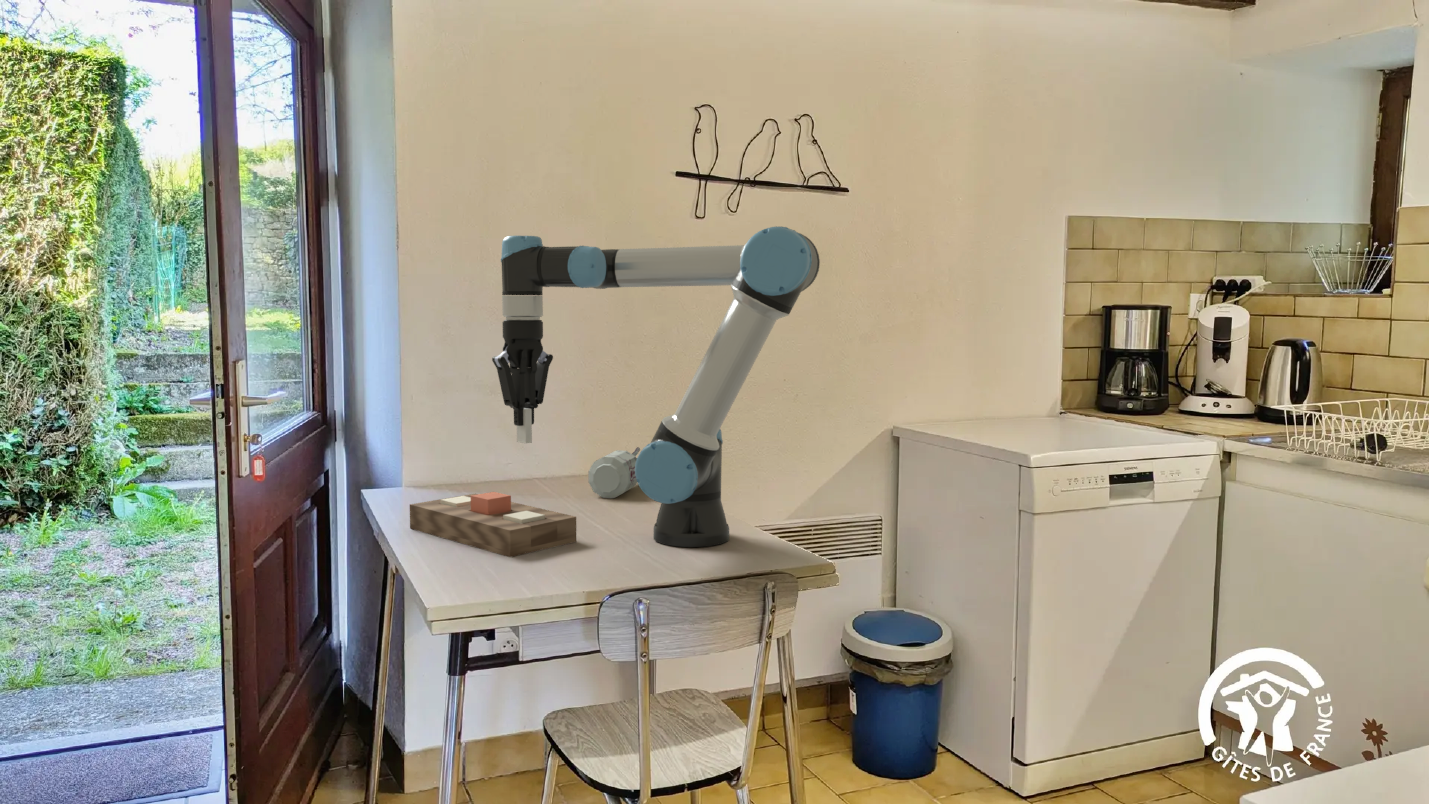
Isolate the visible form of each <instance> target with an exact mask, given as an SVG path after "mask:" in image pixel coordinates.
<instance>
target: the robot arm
mask: <svg viewBox="0 0 1429 804" xmlns="http://www.w3.org/2000/svg"><path fill="white" fill-rule="evenodd" d="M500 263H501V282H502V283H501V286H502V287H501V288H502V290H501V291H502V292H501V293H502V296H501V298H502V299H501V301H502V303H501V304H502V305H501V306H502V310H501V311H502V317H504V318H505V319H503V321H502V338H503V340H504V345H503V347H502V352H500V354H498V355H497V356H496V355H495V356H493V357H492V358H491V361H492V363H493V365H494V366H495V368H496V372H497V376H498V380H499V384H500V385H499V386H500V389H501V394H502V398H503V403H504V405H505V406H507V407H510V408H511V409H513V425H514V426H516V443H522V444H530V443H531V444H532V442H533V429H532V428H533V427H532V425H534V423H535V409H538V408H539V405H542V404H543V402H544V397H545V391H546V385H547V379H548V374H549V368H550V366H551V364H552V361H553V359H554V356H553V354H551V353H550V354H548V353H547V352H546V351H544V346H543V344H542V339H543V338H544V322H543V321H542V320H541V318H542V317H543V316H544V307H543V305H544V301H543V298H544V296H543V289H544V288H580V289H584V288H585V289H589V288H592V289H597V290H601V289H612V288H613V289H617V288H618V289H619V288H653V287H654V288H657V287H658V288H659V287H661V288H662V287H665V288H666V287H707V286H709V287H710V286H711V287H713V286H717V287H718V286H720V287H721V286H730V289H731V291H732V295H733V299H732V301H731V303H730V305H729V307H728V309H727V310H726V313H725V314H724V316H723V318H722V320H721V322H720V324H719V327H718V328H717V330H716V332H715V335H714V336H713V338H712V340H711V342H710V344H709V345H708V348H707V349H706V351H705V354H704V355H703V358H702V360H701V362H700V364H699V366H698V368H697V370H696V371H695V373H694V375H693V377H692V379H691V381H690V383H689V386H687V388H686V391H685V393H684V395H683V397H682V399H681V401H680V403H679V405H678V407H677V408H676V410H675V412H674V414H670V415H668V416H665V417H663V418H662V419H661V421H660V424H659V426H658V427H657V430H655V431H656V432H655V433H654V435H653V437H652V439H651V441H650V443H648V444H646V446H644V447H643V448H642V449H641V450H640V451H639V453H638V454H637V455H638V456H636V458H637V460H636V463H635V476H636V479H637V485H638V486H639V487H638V488H640V490H641V491H642V492H643V493H644V494H645V496H647V497H648V498H649V499H651V500H653V501H655V502H657V503H660V507H659V510H658V513H657V517H656V522H655V523H654V525H653V540H654V541H655V542H657V543H659V544H663V545H666V546H672V547H683V548H701V547H703V548H704V547H713V546H718V545H721V544H725V543H727V542H728V541H730V527H729V524H728V522H727V519H726V514H725V510H724V506H723V504H722V464H723V463H722V457H723V456H722V454H723V453H722V451H723V450H722V449H723V447H722V446H723V444H724V443H723V442H724V440H723V438H722V434H723V433H722V430H721V427H722V425H723V423H724V421H725V419H726V417H727V416H728V414H729V412H730V410H731V408H732V406H733V404H734V402H735V400H737V399H736V398H737V396H738V395H739V393H740V391H741V389H742V387H743V385H744V383H745V381H746V379H747V377H748V376H749V373H750V372H751V370H752V368H753V366H754V364H755V362H756V360H757V358H758V357H759V354H760V353H761V351H762V348H764V346H765V343H766V341H767V339H768V337H769V335H770V334H771V331H772V329H773V328H774V326H775V324H776V322H777V321H778V320H780V319H782V318H786V317H788V316H790V313H791V311H792V310H793V308H794V306H795V304H796V303H797V301H798V299H799V297H800V295H801V292H803V291H805V290H806V289H808V288H809V287H810V286H811V285H812V284H814V282H815V280H816V278H817V277H818V274H819V271H820V266H821V265H820V264H821V259H820V254H819V252H818V249H817V247H816V245H815V244H814V243H813V241H812V240H811V239H810V238H808V236H806V235H804V234H802V233H800V232H797V231H796V230H795V229H791V228H788V227H787V226H776V225H775V226H770V227H767V228H764V229H761V230H759V231H757V232H756V233H754V234H753V235H752V236H751V237H750V238H749V239H748V240H747V242H746V243H744V244H740V245H738V244H737V245H736V244H735V245H712V246H711V245H709V246H682V247H681V246H680V247H679V246H678V247H675V246H674V247H673V246H672V247H646V248H645V247H644V248H643V247H642V248H619V249H618V248H617V249H612V248H610V249H609V248H608V249H601V248H600V247H597V246H588V245H579V246H575V245H574V246H573V245H572V246H545V245H543V240H542V238H541V237H540V236H535V235H507V236H505V237H504V238H503V239H502V242H501V258H500ZM543 287H544V288H543Z"/></svg>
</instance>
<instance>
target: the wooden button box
mask: <svg viewBox="0 0 1429 804" xmlns="http://www.w3.org/2000/svg"><path fill="white" fill-rule="evenodd" d="M478 494H479V493H469V494H464V495H462V496H466V497H470V498H471V496H472V495H478ZM460 496H461V495H458V496H456V497H460ZM454 497H455V496H452V497H451V496H450V498H454ZM448 498H449V497H446V498H444V499H448ZM442 499H443V498H440V499H433V500H427V501H422V502H416V503H412V504H409V529H410V530H415V531H418V532H421V533H425V534H428V535H431V536H435V537H439V538H443V539H445V540H448V541H453V542H455V543H460V544H463V545H466V546H470V547H473V548H477V549H481V550H485V551H487V552H491V553H494V554H498V555H501V556H505V557H508V558H513V557H517V556H521V555H525V554H529V553H535V552H538V551H542V550H547V549H551V548H552V549H553V548H555V547H559V546H563V545H569V544H573V543H577V516H574V515H571V514H567V513H566V514H565V513H562V512H556V511H552V510H548V509H545V508H540V507H535V506H531V505H528V504H527V505H526V504H522V503H518V502H514V501H511V511H508V512H503V513H497V514H492V515H484V514H480V513H476V512H472V511H471V505H467V506H462V507H452V506H448V505H444V504H441V502H440V500H442ZM522 511H530V512H534V513H539V514H543V515H545V519H542V520H538V521H533V522H528V523H523V524H520V523H516V522H512V521H508V520H504V519H503V515H507V514H512V513H517V512H522Z"/></svg>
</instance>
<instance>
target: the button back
mask: <svg viewBox="0 0 1429 804" xmlns="http://www.w3.org/2000/svg"><path fill="white" fill-rule="evenodd" d="M459 496H460V497H457V496H453V497H454V498H451V497H447V498H448V499H445V498H441V499H442V500H440V502H441V504H444V505H448V506H452V507H462V506H467V505H471V498H470V497H466V496H463V495H459Z"/></svg>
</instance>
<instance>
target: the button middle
mask: <svg viewBox="0 0 1429 804" xmlns="http://www.w3.org/2000/svg"><path fill="white" fill-rule="evenodd" d="M477 494H478V495H472V496H471V511H472V512H476V513H480V514H484V515H492V514H497V513H503V512H508V511H511V502H512V495H510V494H505V493H500V492H497V491H491V492H485V493H477Z"/></svg>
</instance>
